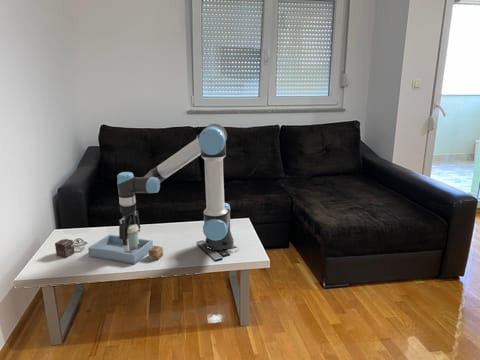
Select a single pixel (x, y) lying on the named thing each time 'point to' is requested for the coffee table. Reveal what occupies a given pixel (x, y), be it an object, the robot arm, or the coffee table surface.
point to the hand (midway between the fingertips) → (131, 247)
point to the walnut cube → (155, 252)
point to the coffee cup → (133, 236)
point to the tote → (119, 250)
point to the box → (64, 248)
